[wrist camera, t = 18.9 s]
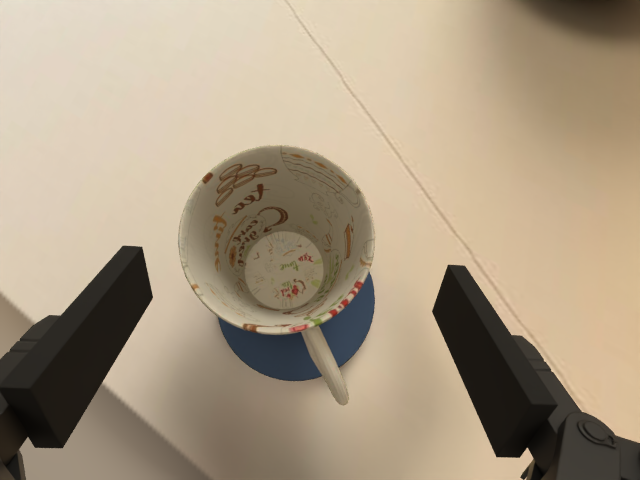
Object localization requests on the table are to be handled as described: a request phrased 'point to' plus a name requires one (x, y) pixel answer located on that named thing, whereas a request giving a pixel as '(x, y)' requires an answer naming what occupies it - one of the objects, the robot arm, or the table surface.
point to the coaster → (290, 349)
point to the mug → (279, 245)
